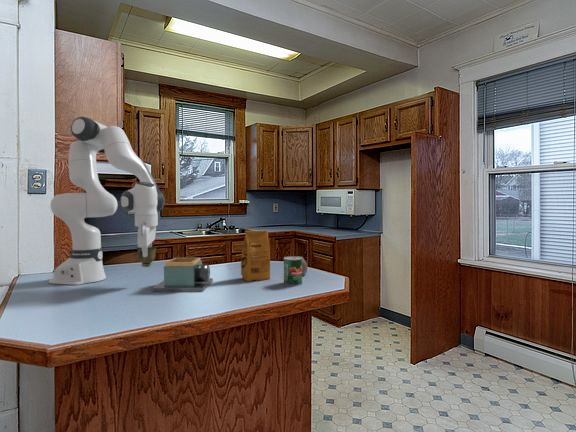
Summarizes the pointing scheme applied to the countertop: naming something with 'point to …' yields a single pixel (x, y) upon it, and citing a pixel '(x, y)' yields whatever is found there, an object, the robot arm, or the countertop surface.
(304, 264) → the vase
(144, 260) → the cup
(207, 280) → the motor mount
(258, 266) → the coffee package
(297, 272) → the canned tomato
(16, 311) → the countertop surface
